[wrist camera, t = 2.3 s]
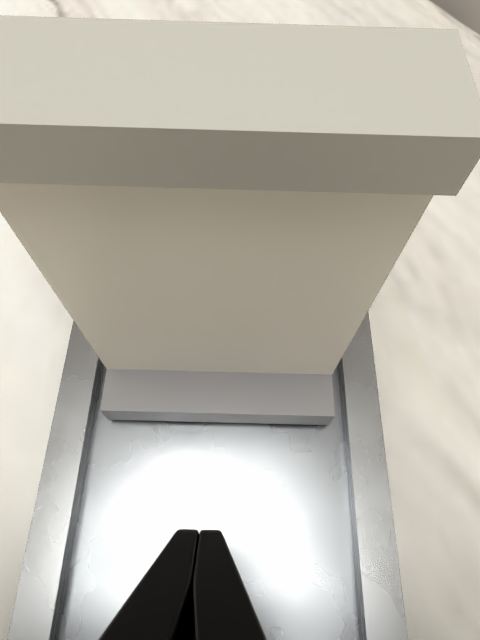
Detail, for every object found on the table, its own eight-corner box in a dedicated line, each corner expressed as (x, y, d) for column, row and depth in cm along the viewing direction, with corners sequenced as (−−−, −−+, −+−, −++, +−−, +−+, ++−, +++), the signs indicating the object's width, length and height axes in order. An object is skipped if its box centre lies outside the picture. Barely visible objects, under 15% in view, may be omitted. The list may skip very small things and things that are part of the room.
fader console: (412, 882, 13) (454, 961, 11) (-10, 875, 13) (-67, 950, 10) (343, 218, 24) (356, 179, 21) (113, 212, 24) (100, 172, 21)
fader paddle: (333, 425, 17) (513, 202, 6) (102, 419, 17) (-124, 184, 6) (325, 305, 19) (444, -11, 8) (121, 299, 19) (-18, -25, 8)
